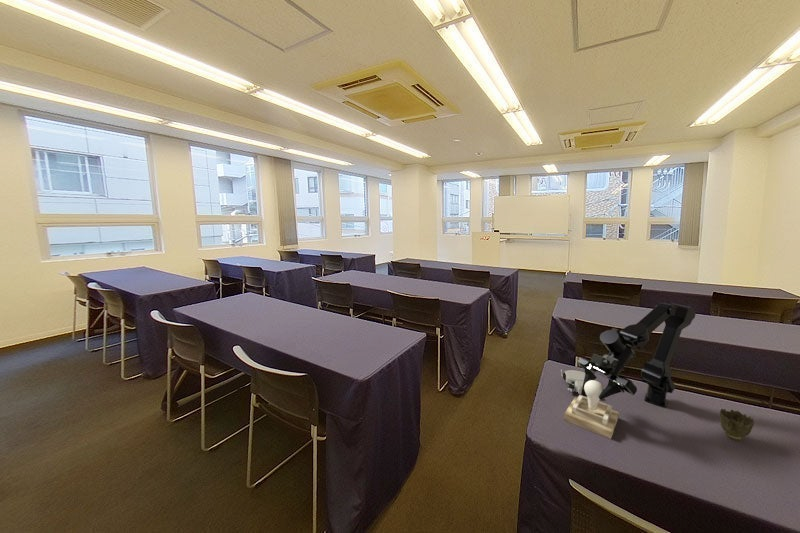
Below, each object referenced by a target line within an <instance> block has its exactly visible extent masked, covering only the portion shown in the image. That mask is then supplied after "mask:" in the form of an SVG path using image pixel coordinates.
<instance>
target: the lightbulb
mask: <svg viewBox="0 0 800 533" xmlns="http://www.w3.org/2000/svg"><path fill="white" fill-rule="evenodd" d="M604 389H605V387H604V385H603V384H602V382H600V381H598V380H596V379H595V380H590V381H587V382H586V383H585V385H584V390H585V392H586V394H587V395H586V397H588V407H589V409H591V410H596V409H597V405H598V403H599V402H600V401H601V399H599V396H600V394H601V393H602V392H603V390H604Z"/></svg>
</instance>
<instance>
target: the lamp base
mask: <svg viewBox="0 0 800 533" xmlns="http://www.w3.org/2000/svg"><path fill="white" fill-rule="evenodd" d="M613 407H614V406H613V405H611V404H607V403H605V402H602V401H599V403H598V405H597V409H596V410H591V409H589V407H588V397H587V396H586V395H585V396H584V395H583V394H578V397H576V396H574V398H573V399H572V401H571V403H570V404H569V406H568V407H567V409H566V411H565V412H564V415H563V420H564V421H565V422H567V423H570V424H572V425H575V426H577V427H580V428H582V429H585V430H588V431H590V432H592V433H595V434H597V435H599V436H602V437H605V438H607V439H609V440H611V439H612V437H613V434H614V432H615V428H616V426H617V423H618V420H619V414H620V412H619V411H617V410H614V409H613Z"/></svg>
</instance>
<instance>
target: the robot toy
mask: <svg viewBox="0 0 800 533" xmlns="http://www.w3.org/2000/svg"><path fill="white" fill-rule="evenodd" d="M560 373H561V377H562V378H563V380H564V381H565V382H566V383H568V384H569V386H568V388H567V392H571V393H572V392H573V391H575V392H576V393H577V392H578V393H577V394H578V395H582V396H584V395H585V396H587V394H586V392H585V390H584V389H583V388H582V386H583V382H584V378H585V371H584V372H583V371H580V370H572V369H571V370H570V369H569V370H565V371H564V372H563V369H560Z"/></svg>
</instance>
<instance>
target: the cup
mask: <svg viewBox="0 0 800 533" xmlns="http://www.w3.org/2000/svg"><path fill="white" fill-rule="evenodd" d="M719 413H720V414H719V415H720V416H719V421H720V426H721V428H722V430H724V433H725V434H724V435H725V436H726V437H727V438H729V439H731V440H733V441H737V442H738V441H741V440H742V438H746V437H748V436H749V435H750V434H751V432H752V430H753V427H754V424H755V422H756V421H755V420H754V419H753V418H751V416H747V414H746V413H745V414H743V413H742V412H740V411H739V410H734V409H731V410H730V411H729V410H726V408H721V409H720V411H719Z"/></svg>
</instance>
